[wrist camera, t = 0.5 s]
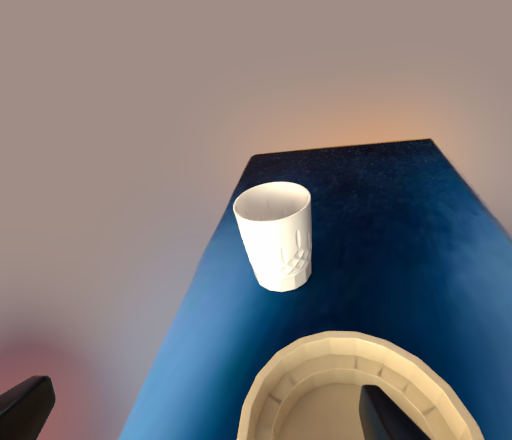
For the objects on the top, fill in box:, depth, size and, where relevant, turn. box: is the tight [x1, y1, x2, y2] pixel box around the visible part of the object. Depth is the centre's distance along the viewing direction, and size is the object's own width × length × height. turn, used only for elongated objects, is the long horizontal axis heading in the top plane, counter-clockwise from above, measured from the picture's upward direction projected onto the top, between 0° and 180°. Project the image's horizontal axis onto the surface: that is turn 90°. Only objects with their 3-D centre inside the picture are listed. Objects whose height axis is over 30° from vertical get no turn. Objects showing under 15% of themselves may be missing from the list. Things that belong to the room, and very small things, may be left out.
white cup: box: [233, 182, 312, 292], centre depth 32 cm, size 8×8×10 cm
